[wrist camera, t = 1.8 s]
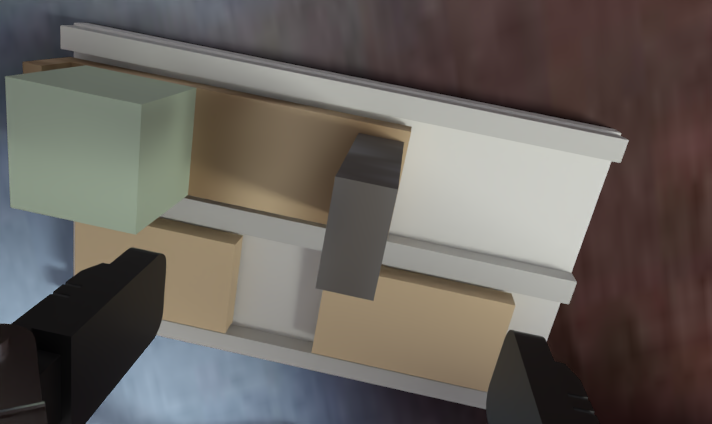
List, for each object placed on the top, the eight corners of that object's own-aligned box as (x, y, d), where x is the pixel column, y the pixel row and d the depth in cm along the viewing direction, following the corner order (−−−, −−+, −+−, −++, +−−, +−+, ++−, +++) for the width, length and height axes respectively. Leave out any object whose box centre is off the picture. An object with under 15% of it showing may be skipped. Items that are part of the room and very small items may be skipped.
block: (196, 87, 24) (141, 104, 19) (187, 195, 25) (135, 234, 21) (86, 65, 24) (4, 76, 19) (85, 173, 26) (10, 207, 21)
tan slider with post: (411, 126, 24) (407, 175, 17) (389, 228, 26) (376, 315, 18) (70, 56, 25) (-85, 73, 17) (70, 160, 27) (-71, 217, 19)
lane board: (613, 129, 25) (633, 140, 22) (519, 395, 30) (528, 427, 28) (86, 22, 26) (53, 22, 23) (83, 297, 31) (56, 320, 29)
